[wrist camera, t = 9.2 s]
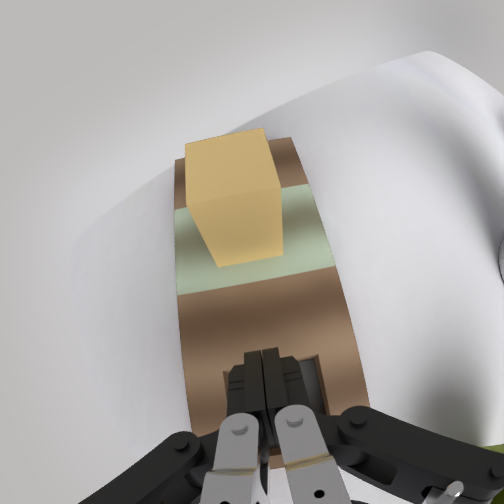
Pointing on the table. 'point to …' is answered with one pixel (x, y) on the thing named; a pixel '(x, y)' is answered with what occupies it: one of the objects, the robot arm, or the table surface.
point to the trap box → (265, 307)
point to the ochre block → (235, 196)
